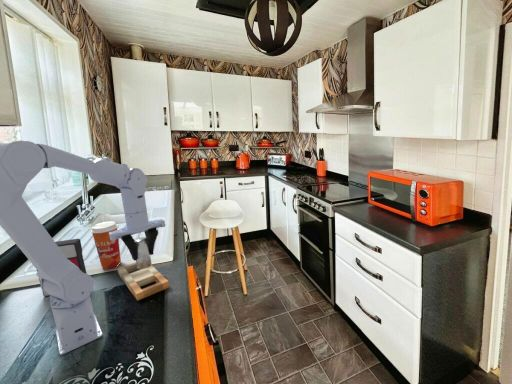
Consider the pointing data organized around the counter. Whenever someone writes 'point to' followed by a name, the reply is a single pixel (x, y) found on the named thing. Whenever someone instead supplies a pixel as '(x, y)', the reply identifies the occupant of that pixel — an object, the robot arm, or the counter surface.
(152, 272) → the wooden slotted board
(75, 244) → the calculator
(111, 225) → the coffee cup
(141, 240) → the peg
